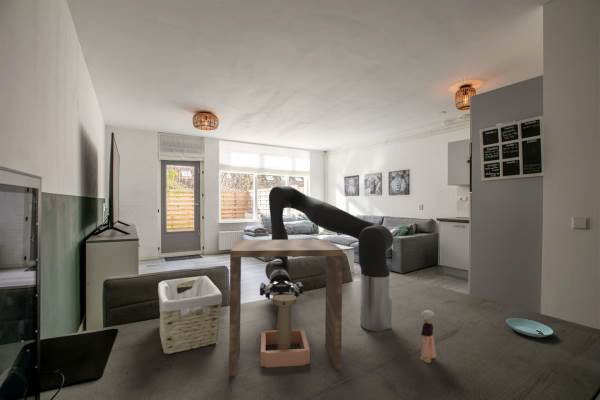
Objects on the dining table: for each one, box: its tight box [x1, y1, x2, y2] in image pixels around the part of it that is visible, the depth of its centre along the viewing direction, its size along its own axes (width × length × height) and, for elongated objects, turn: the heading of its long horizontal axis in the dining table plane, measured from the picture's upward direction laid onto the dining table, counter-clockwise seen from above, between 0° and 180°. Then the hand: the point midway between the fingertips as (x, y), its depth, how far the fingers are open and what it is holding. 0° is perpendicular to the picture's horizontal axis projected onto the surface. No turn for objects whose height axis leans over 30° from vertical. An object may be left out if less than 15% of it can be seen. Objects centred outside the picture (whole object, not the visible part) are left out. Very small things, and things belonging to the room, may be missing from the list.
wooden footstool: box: [228, 239, 343, 377], centre depth 78 cm, size 27×18×30 cm, turn 97°
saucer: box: [505, 317, 554, 338], centre depth 92 cm, size 12×12×2 cm
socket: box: [260, 328, 311, 368], centre depth 78 cm, size 12×12×4 cm
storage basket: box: [157, 275, 223, 355], centre depth 88 cm, size 24×16×15 cm
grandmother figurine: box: [419, 309, 437, 364], centre depth 76 cm, size 8×4×13 cm, turn 148°
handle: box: [272, 294, 297, 350], centre depth 78 cm, size 5×6×15 cm
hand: (282, 295), depth 90 cm, fingers open, 8 cm apart
